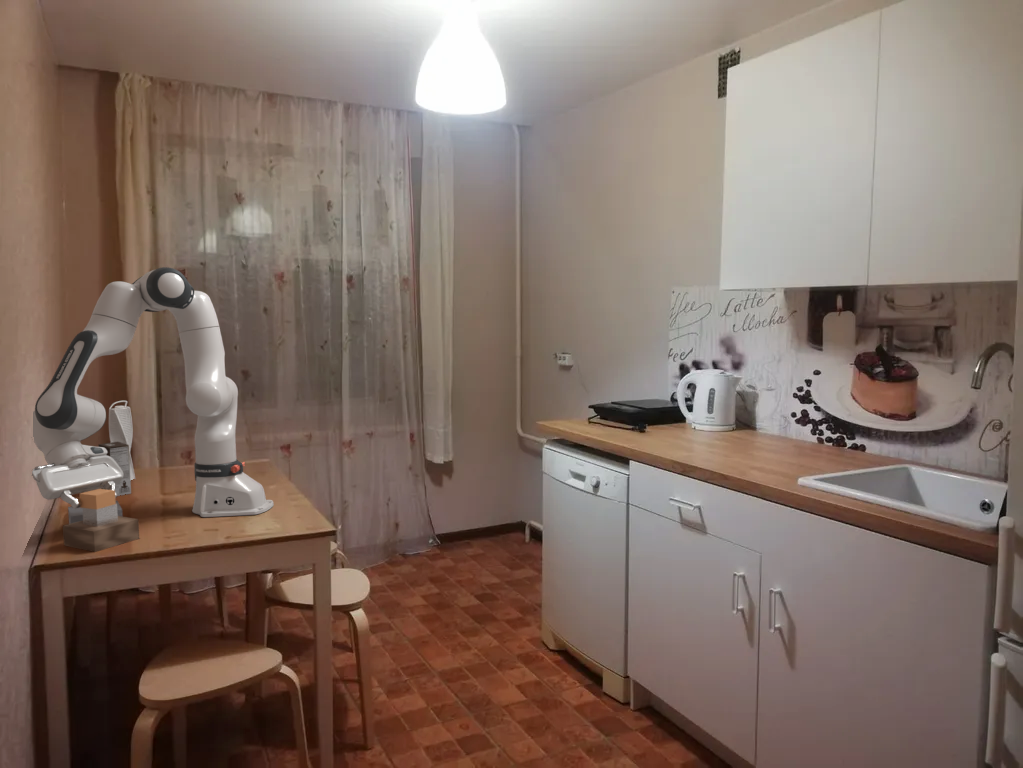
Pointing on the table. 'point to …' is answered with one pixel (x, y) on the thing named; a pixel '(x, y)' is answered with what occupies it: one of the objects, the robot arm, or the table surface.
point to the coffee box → (120, 465)
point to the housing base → (100, 515)
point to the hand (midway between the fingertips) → (96, 502)
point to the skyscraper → (121, 428)
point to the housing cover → (97, 498)
